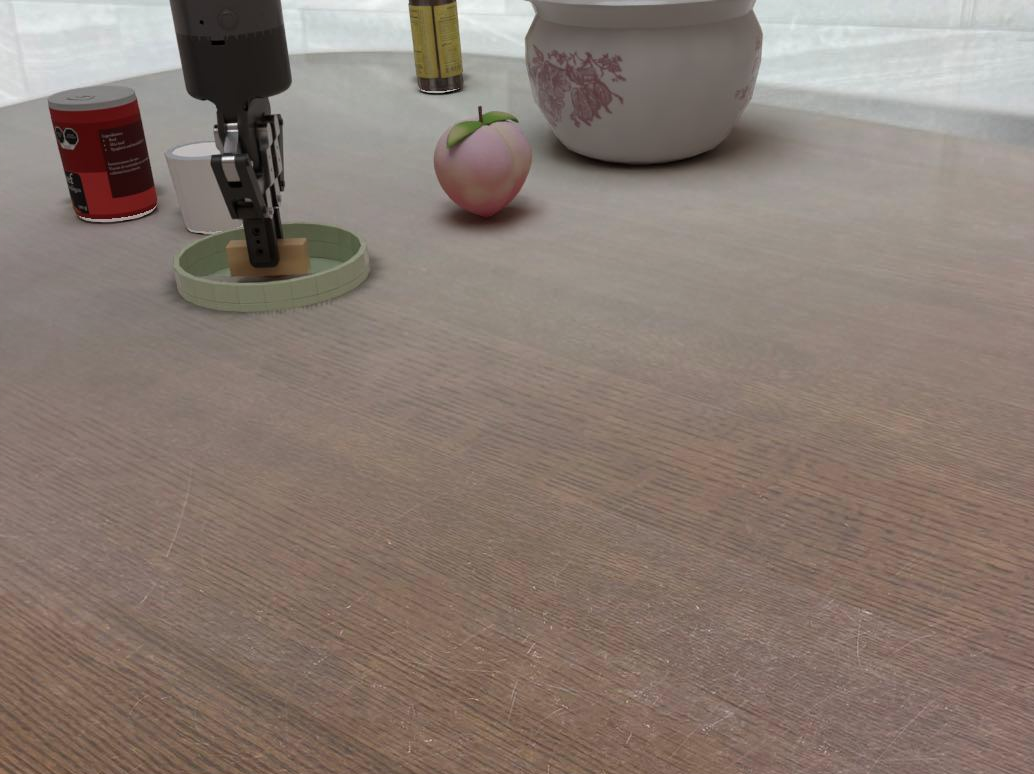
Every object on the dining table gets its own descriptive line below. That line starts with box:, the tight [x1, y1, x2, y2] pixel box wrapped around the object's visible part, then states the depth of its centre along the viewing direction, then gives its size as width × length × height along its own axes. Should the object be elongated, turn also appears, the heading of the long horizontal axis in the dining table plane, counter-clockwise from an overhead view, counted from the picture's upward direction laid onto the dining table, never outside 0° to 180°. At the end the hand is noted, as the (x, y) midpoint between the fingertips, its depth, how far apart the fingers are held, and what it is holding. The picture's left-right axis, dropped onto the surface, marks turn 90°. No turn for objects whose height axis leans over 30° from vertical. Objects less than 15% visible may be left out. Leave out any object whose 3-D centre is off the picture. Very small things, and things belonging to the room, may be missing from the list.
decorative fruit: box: [433, 105, 533, 219], centre depth 109 cm, size 9×8×10 cm
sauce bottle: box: [408, 0, 464, 91], centre depth 154 cm, size 6×6×20 cm
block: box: [226, 238, 311, 278], centre depth 93 cm, size 6×2×2 cm, turn 89°
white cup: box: [164, 140, 246, 232], centre depth 111 cm, size 7×7×7 cm
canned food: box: [47, 85, 158, 219], centre depth 114 cm, size 8×8×11 cm
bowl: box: [172, 221, 371, 313], centre depth 96 cm, size 15×15×4 cm
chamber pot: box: [524, 0, 764, 166], centre depth 125 cm, size 28×28×21 cm
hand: (268, 260), depth 93 cm, fingers closed on block, 1 cm apart
